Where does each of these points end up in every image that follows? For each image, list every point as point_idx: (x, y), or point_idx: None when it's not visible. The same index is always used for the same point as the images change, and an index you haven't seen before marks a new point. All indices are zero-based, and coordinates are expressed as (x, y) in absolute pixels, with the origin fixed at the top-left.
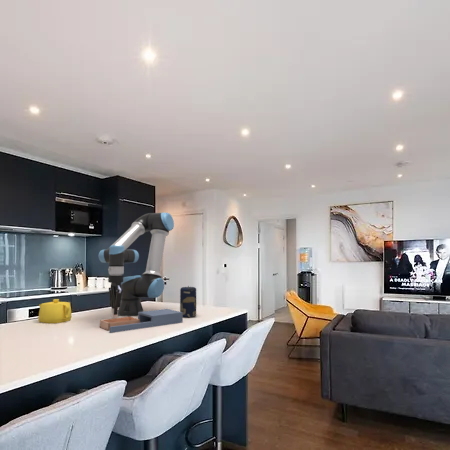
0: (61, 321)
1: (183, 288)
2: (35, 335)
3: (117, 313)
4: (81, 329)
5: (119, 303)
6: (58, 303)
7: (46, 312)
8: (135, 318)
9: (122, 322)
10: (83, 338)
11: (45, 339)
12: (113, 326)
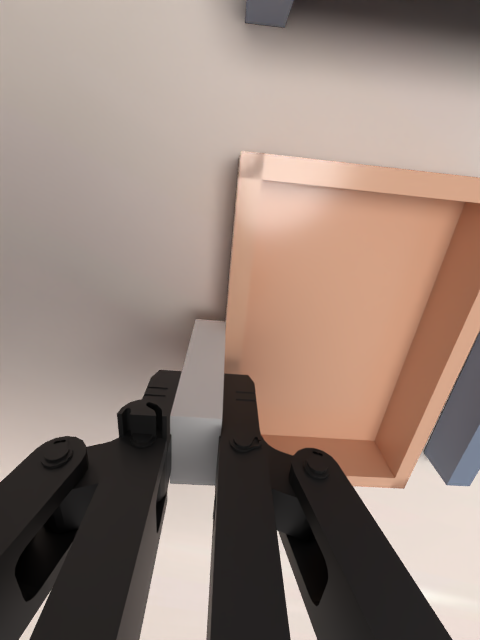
0: None
1: None
2: (193, 636)
3: (223, 367)
4: (201, 515)
5: (373, 544)
6: None
7: None
8: (441, 188)
9: (444, 384)
10: (420, 561)
11: (300, 630)
12: (462, 465)
